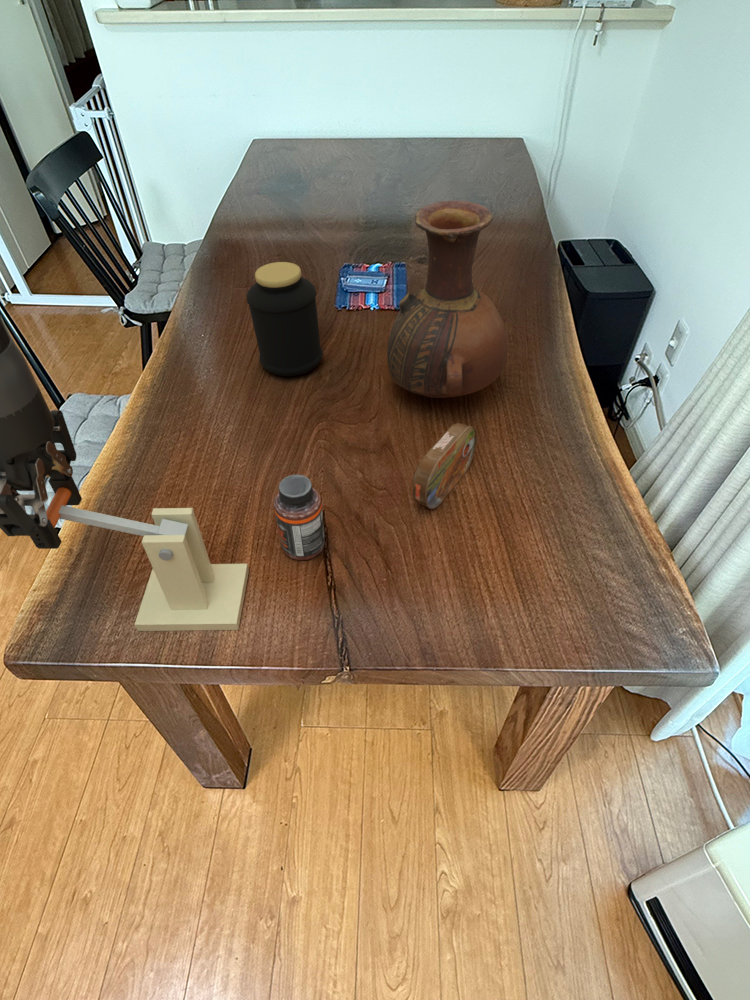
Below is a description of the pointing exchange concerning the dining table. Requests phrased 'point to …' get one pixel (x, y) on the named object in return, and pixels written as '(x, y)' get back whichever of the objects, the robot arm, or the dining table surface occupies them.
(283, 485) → the supplement bottle
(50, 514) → the lever handle
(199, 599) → the cream lever stand
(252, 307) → the container
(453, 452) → the tin
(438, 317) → the vase
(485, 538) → the dining table surface
